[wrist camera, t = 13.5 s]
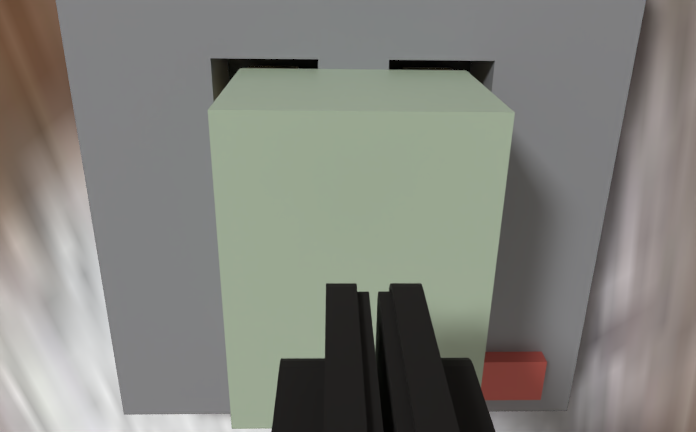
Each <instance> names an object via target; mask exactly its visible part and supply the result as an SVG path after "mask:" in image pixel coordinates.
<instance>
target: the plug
mask: <svg viewBox="0 0 696 432" xmlns="http://www.w3.org/2000/svg"><path fill="white" fill-rule="evenodd" d="M514 116H515V112H514V111H513V110H512V109H510V108H509V107H508V106H507V105H506V104H505V103H503V102H502V101H501V100H500V99H499V98H498V97H496V96H495V95H494V94H493V93H492V92H491V91H490V90H488V89H487V88H486V87H485V86H484V85H483V84H481V83H480V82H479V81H478V80H477V79H476V78H474V77H473V76H472V75H471V74H470V73H469V72H468V71H466V70H453V69H452V68H429V67H402V70H379V69H298V66H248V68H240V69H239V70H238V71H237V73H236V74H235V75H234V76H233V78H232V79H231V80H230V82H229V83H228V84H227V86H226V87H225V88H224V89H223V91H222V92H221V93H220V95H219V96H218V97H217V98H216V100H215V101H214V102H213V104H212V105H211V106H210V107H209V109H208V122H209V135H210V148H211V161H212V174H213V188H214V201H215V214H216V227H217V240H218V253H219V267H220V280H221V293H222V306H223V319H224V332H225V345H226V359H227V372H228V385H229V398H230V411H231V424H232V429H251V428H272V424H273V415H274V407H275V398H276V390H277V381H278V373H279V365H280V360H281V358H325V314H326V283H356V284H357V292H369V297H370V307H371V316H372V326H373V335H374V345H375V348H376V323H377V298H378V291H389V286H390V283H421V284H422V286H423V290H424V294H425V298H426V302H427V306H428V309H429V313H430V317H431V321H432V325H433V329H434V333H435V337H436V341H437V344H438V348H439V352H440V356H441V358H469V359H471V361H472V363H473V365H474V368H475V371H476V374H477V377H478V380H479V384H480V387H481V383H482V375H483V367H484V359H485V351H486V343H487V335H488V326H489V318H490V310H491V302H492V294H493V286H494V278H495V270H496V262H497V254H498V245H499V237H500V229H501V221H502V213H503V205H504V197H505V189H506V181H507V173H508V164H509V156H510V148H511V140H512V132H513V124H514Z"/></svg>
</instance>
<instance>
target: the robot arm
mask: <svg viewBox="0 0 696 432" xmlns="http://www.w3.org/2000/svg"><path fill="white" fill-rule="evenodd" d="M272 432H495V429H494V426H493V423H492V420H491V417H490V414H489V411H488V408H487V405H486V402H485V399H484V396H483V393H482V390H481V387H480V384H479V380H478V377H477V374H476V371H475V368H474V365H473V363H472V361H471V359H469V358H441V356H440V352H439V348H438V344H437V341H436V337H435V333H434V329H433V325H432V321H431V317H430V313H429V309H428V306H427V302H426V298H425V294H424V290H423V286H422V284H421V283H390V286H389V291H378V298H377V323H376V348H375V345H374V335H373V326H372V316H371V307H370V297H369V292H357V284H356V283H326V314H325V358H281V360H280V365H279V373H278V381H277V390H276V398H275V407H274V415H273V424H272Z"/></svg>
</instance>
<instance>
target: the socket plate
mask: <svg viewBox="0 0 696 432" xmlns="http://www.w3.org/2000/svg"><path fill="white" fill-rule="evenodd" d="M645 3H646V0H56V5H57V11H58V17H59V23H60V29H61V35H62V41H63V47H64V54H65V60H66V66H67V72H68V78H69V84H70V90H71V96H72V102H73V108H74V114H75V120H76V126H77V132H78V138H79V145H80V151H81V157H82V163H83V169H84V175H85V181H86V187H87V193H88V199H89V205H90V211H91V217H92V223H93V229H94V235H95V242H96V248H97V254H98V260H99V266H100V272H101V278H102V284H103V290H104V296H105V302H106V308H107V314H108V320H109V326H110V333H111V339H112V345H113V351H114V357H115V363H116V369H117V375H118V381H119V387H120V393H121V399H122V405H123V411H124V414H231V411H230V398H229V385H228V372H227V359H226V345H225V332H224V319H223V306H222V293H221V280H220V267H219V253H218V240H217V227H216V214H215V201H214V188H213V174H212V161H211V148H210V135H209V122H208V109H209V107H210V106H211V105H212V104H213V102H214V101H215V100H216V98H217V97H218V96H219V95H220V93H221V92H222V91H223V89H224V88H225V87H226V86H227V84H228V83H229V69H228V59H318V69H379V70H389V60H459V61H471V66H470V74H471V75H472V76H473V77H474V78H476V79H477V80H478V81H479V82H480V83H481V84H483V85H484V86H485V87H486V88H487V89H488V90H490V91H491V92H492V93H493V94H494V95H495V96H496V97H498V98H499V99H500V100H501V101H502V102H503V103H505V104H506V105H507V106H508V107H509V108H510V109H512V110H513V111H514V112H515V116H514V124H513V132H512V140H511V148H510V156H509V164H508V173H507V181H506V189H505V197H504V205H503V213H502V221H501V229H500V237H499V245H498V254H497V262H496V270H495V278H494V286H493V294H492V302H491V310H490V318H489V326H488V335H487V343H486V351H485V359H484V367H483V375H482V383H481V390H482V393H483V396H484V399H485V402H486V405H487V408H488V411H567V408H568V403H569V398H570V393H571V387H572V382H573V377H574V372H575V367H576V361H577V356H578V351H579V346H580V341H581V335H582V330H583V325H584V320H585V315H586V310H587V304H588V299H589V294H590V289H591V284H592V278H593V273H594V268H595V263H596V258H597V252H598V247H599V242H600V237H601V232H602V226H603V221H604V216H605V211H606V206H607V201H608V195H609V190H610V185H611V180H612V175H613V169H614V164H615V159H616V154H617V149H618V143H619V138H620V133H621V128H622V123H623V117H624V112H625V107H626V102H627V97H628V91H629V86H630V81H631V76H632V71H633V66H634V60H635V55H636V50H637V45H638V40H639V34H640V29H641V24H642V19H643V14H644V8H645Z"/></svg>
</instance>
